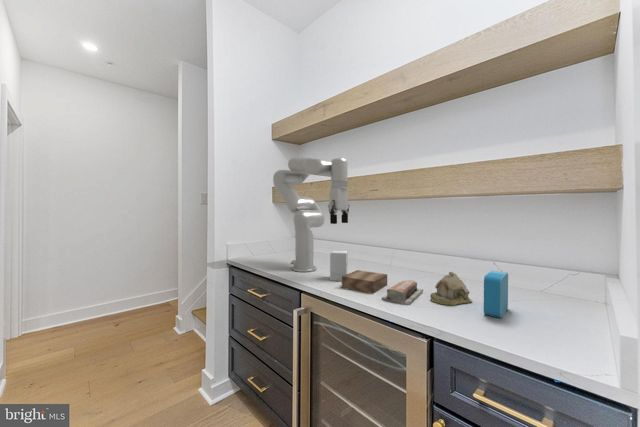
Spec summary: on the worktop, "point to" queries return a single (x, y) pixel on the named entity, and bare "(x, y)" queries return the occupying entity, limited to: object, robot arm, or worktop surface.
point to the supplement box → (338, 265)
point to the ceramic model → (451, 291)
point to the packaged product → (403, 292)
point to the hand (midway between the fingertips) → (339, 223)
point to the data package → (495, 293)
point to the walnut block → (364, 281)
